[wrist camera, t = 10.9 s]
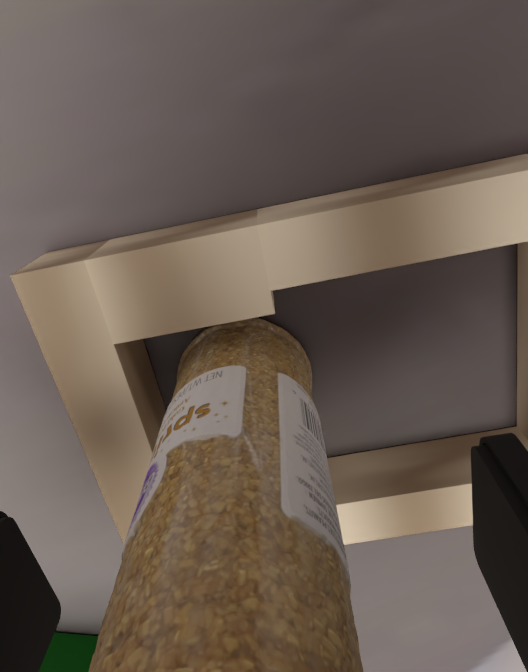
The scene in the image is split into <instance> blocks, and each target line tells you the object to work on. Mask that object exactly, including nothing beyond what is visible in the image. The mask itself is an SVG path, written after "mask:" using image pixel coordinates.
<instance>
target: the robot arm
mask: <svg viewBox="0 0 528 672" xmlns="http://www.w3.org/2000/svg"><path fill="white" fill-rule="evenodd" d="M471 477H472V509H473V541H474V551H475V556H476V559H477V562H478V565H479V568H480V570H481V572H482V574H483V576H484V578H485V581H486V583H487V585H488V587H489V589H490V592H491V594H492V596H493V598H494V600H495V603H496V605H497V607H498V609H499V611H500V614H501V616H502V618H503V620H504V622H505V625H506V627H507V629H508V631H509V633H510V635H511V638H512V640H513V642H514V644H515V646H516V649H517V651H518V653H519V655H520V657H521V660H522V662H523V664H524V666H525V668H526V670H527V672H528V451H527V449H526V448H525V447H524V445H523V444H522V443H521V441H520V440H519V439H518V437H517V436H516V435H515V434H513V433H505V434H499V435H492V436H486V437H482V438H480V441H479V446H473V447H471ZM60 615H61V607H60V602H59V600H58V598H57V596H56V595H55V593H54V591H53V589H52V587H51V586H50V584H49V582H48V580H47V578H46V576H45V575H44V573H43V571H42V569H41V567H40V565H39V564H38V562H37V560H36V558H35V556H34V555H33V553H32V551H31V549H30V547H29V545H28V544H27V542H26V540H25V538H24V536H23V535H22V533H21V531H20V529H19V527H18V525H17V524H16V522H15V520H14V519H13V518H11V517H8V516H7V515H6V514H5V513H4V512H2V511H0V672H39V670H40V667H41V665H42V662H43V660H44V657H45V655H46V652H47V650H48V647H49V645H50V643H51V640H52V638H53V635H54V633H55V630H56V628H57V625H58V623H59V620H60Z"/></svg>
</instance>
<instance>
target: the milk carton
mask: <svg viewBox="0 0 528 672" xmlns="http://www.w3.org/2000/svg"><path fill="white" fill-rule="evenodd" d="M97 640H98V636H91V635H79V634H68V633H57V632H55V633H54V635H53V638H52V640H51V643H50V645H49V647H48V650H47V652H46V655H45V657H44V660H43V662H42V665H41V667H40V670H39V672H88V671H89V668H90V664H91V661H92V656H93V654H94V653H95V649H96V645H97Z"/></svg>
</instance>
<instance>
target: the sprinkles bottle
mask: <svg viewBox="0 0 528 672" xmlns="http://www.w3.org/2000/svg"><path fill="white" fill-rule="evenodd" d="M311 390H312V368H311V365H310V361H309V359H308V357H307V355H306V353H305V351H304V349H303V348H302V346H301V345H300V343H299V342H298V341H297V340H296V339H295V338H294V337H293V336H292V335H291V334H289V333H288V332H287V331H286V330H284V329H283V328H280V327H278V326H276V325H275V324H273V323H270V322H268V321H266V320H263V319H259V318H250V319H245V320H240V321H234V322H229V323H224V324H219V325H213V326H211V327H209V328H207V329H205V330H203V331H202V332H201V333H200V334H198V335H197V336H196V337H195V338H194V339H193V340H192V342H191V343H190V344H189V346H188V347H187V348H186V350H185V351H184V353H183V354H182V356H181V358H180V363H179V366H178V369H177V385H176V387H175V390H174V394H173V398H172V400H171V403H170V404H169V406H168V408H167V411H166V413H165V416H164V418H163V422H162V425H161V428H160V431H159V434H158V437H157V441H156V444H155V448H154V451H153V455H152V458H151V462H150V465H149V468H148V471H147V474H146V477H145V481H144V484H143V488H142V491H141V494H140V497H139V500H138V503H137V507H136V510H135V513H134V516H133V519H132V522H131V525H130V528H129V531H128V534H127V537H126V540H125V543H124V547H123V551H122V564H121V566H120V569H119V572H118V575H117V578H116V582H115V586H114V590H113V593H112V595H111V598H110V601H109V605H108V607H107V609H106V613H105V617H104V620H103V623H102V627H101V631H100V633H99V636H98V640H97V645H96V649H95V653H94V654H93V656H92V661H91V664H90V668H89V671H88V672H363V667H362V663H361V658H360V653H359V644H358V637H357V631H356V628H355V624H354V616H353V612H352V606H351V600H350V590H351V584H350V575H349V570H348V565H347V559H346V554H345V549H344V544H343V539H342V533H341V528H340V523H339V518H338V513H337V507H336V502H335V497H334V492H333V486H332V481H331V476H330V470H329V465H328V460H327V454H326V449H325V444H324V438H323V433H322V428H321V423H320V419H319V415H318V412H317V409H316V407H315V405H314V403H313V398H312V392H311Z"/></svg>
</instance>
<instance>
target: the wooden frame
mask: <svg viewBox="0 0 528 672" xmlns="http://www.w3.org/2000/svg"><path fill="white" fill-rule="evenodd" d="M516 243H518V290H517V427H511V428H505V429H499V430H493V431H487V432H481V433H475V434H469V435H463V436H457V437H451V438H445V439H439V440H433V441H427V442H421V443H415V444H409V445H403V446H397V447H391V448H385V449H379V450H373V451H367V452H361V453H355V454H349V455H343V456H337V457H331V458H327V460H328V465H329V470H330V476H331V481H332V486H333V492H334V497H335V502H336V507H337V513H338V518H339V523H340V528H341V533H342V539H343V544H344V545H346V544H353V543H359V542H366V541H372V540H379V539H385V538H392V537H398V536H405V535H411V534H418V533H424V532H431V531H437V530H444V529H450V528H457V527H463V526H470V525H473V509H472V477H471V447H473V446H479V441H480V438H482V437H486V436H492V435H499V434H505V433H513V434H515V435H516V436H517V437H518V439H519V440H520V441H521V443H522V444H523V445H524V447H525V448H526V449H527V451H528V153H527V154H522V155H518V156H513V157H508V158H503V159H498V160H493V161H489V162H484V163H479V164H474V165H469V166H464V167H459V168H455V169H450V170H445V171H440V172H435V173H430V174H425V175H421V176H416V177H411V178H406V179H401V180H396V181H392V182H387V183H382V184H377V185H372V186H367V187H362V188H358V189H353V190H348V191H343V192H338V193H333V194H328V195H324V196H319V197H314V198H309V199H304V200H299V201H294V202H290V203H285V204H280V205H275V206H270V207H265V208H261V209H256V210H251V211H246V212H241V213H236V214H231V215H227V216H222V217H217V218H212V219H207V220H202V221H197V222H193V223H188V224H183V225H178V226H173V227H168V228H163V229H159V230H154V231H149V232H144V233H139V234H134V235H130V236H125V237H120V238H115V239H110V240H105V241H100V242H96V243H91V244H86V245H81V246H76V247H71V248H66V249H62V250H57V251H52V252H47V253H45V254H44V255H42V256H40V257H39V258H37V259H36V260H34V261H32V262H31V263H29V264H28V265H26V266H24V267H23V268H21V269H20V270H18V271H16V272H15V273H13V274H12V275H10V277H11V279H12V282H13V284H14V286H15V289H16V291H17V294H18V296H19V298H20V301H21V303H22V305H23V308H24V310H25V312H26V315H27V317H28V320H29V322H30V324H31V327H32V329H33V331H34V334H35V336H36V339H37V341H38V343H39V346H40V348H41V350H42V353H43V355H44V357H45V360H46V362H47V365H48V367H49V369H50V372H51V374H52V376H53V379H54V381H55V383H56V386H57V388H58V391H59V393H60V395H61V398H62V400H63V402H64V405H65V407H66V409H67V412H68V414H69V417H70V419H71V421H72V424H73V426H74V428H75V431H76V433H77V435H78V438H79V440H80V443H81V445H82V447H83V450H84V452H85V454H86V457H87V459H88V461H89V464H90V466H91V469H92V471H93V473H94V476H95V478H96V480H97V483H98V485H99V488H100V490H101V492H102V495H103V497H104V499H105V502H106V504H107V506H108V509H109V511H110V514H111V516H112V518H113V521H114V523H115V525H116V528H117V530H118V532H119V535H120V537H121V540H122V542H123V544H124V543H125V540H126V537H127V534H128V531H129V528H130V525H131V522H132V519H133V516H134V513H135V510H136V507H137V503H138V500H139V497H140V494H141V491H142V488H143V484H144V481H145V477H146V474H147V471H148V468H149V465H150V462H151V458H152V455H153V451H154V448H155V444H156V441H157V437H158V434H159V431H160V428H161V425H162V422H163V418H164V416H165V413H166V408H165V405H164V402H163V399H162V396H161V393H160V390H159V387H158V384H157V381H156V378H155V375H154V372H153V369H152V366H151V363H150V360H149V357H148V354H147V351H146V347H145V344H144V341H143V339H145V338H150V337H155V336H161V335H166V334H171V333H176V332H182V331H187V330H192V329H198V328H203V327H208V326H213V325H219V324H224V323H229V322H234V321H240V320H245V319H250V318H255V317H261V316H266V315H271V314H275V307H274V294H273V290H279V289H284V288H289V287H294V286H299V285H304V284H310V283H315V282H320V281H325V280H330V279H335V278H341V277H346V276H351V275H356V274H361V273H367V272H372V271H377V270H382V269H387V268H392V267H398V266H403V265H408V264H413V263H418V262H423V261H429V260H434V259H439V258H444V257H449V256H454V255H460V254H465V253H470V252H475V251H480V250H485V249H491V248H496V247H501V246H506V245H511V244H516Z"/></svg>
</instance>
